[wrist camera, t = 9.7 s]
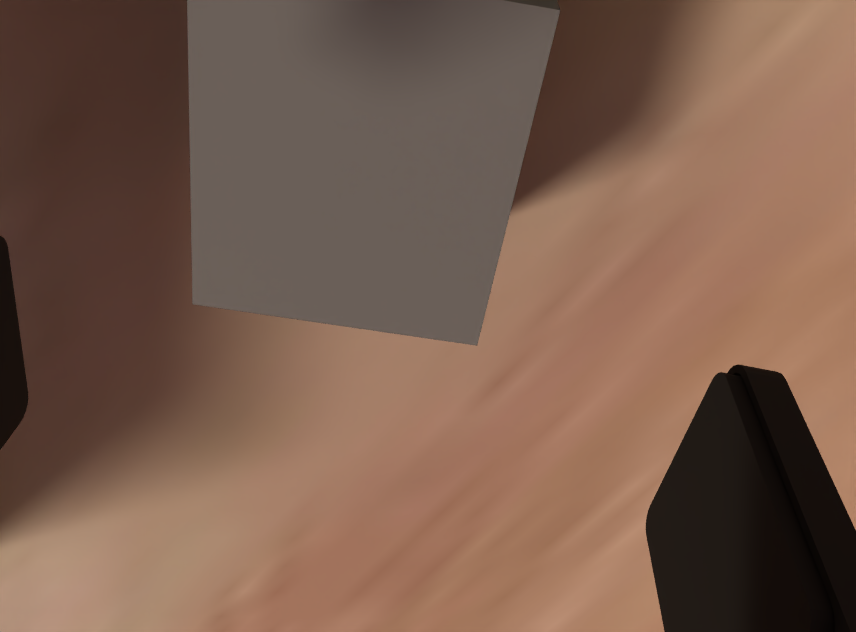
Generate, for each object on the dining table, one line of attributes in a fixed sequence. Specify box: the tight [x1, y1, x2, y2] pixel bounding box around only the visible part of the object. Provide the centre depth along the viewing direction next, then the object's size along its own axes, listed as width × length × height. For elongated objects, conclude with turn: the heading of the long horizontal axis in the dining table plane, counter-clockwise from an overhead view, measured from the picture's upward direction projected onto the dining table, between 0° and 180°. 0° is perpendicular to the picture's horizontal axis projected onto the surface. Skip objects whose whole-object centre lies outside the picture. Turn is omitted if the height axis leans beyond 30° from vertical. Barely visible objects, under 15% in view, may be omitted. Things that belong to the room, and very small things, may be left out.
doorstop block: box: [187, 0, 560, 346], centre depth 17 cm, size 6×7×5 cm
